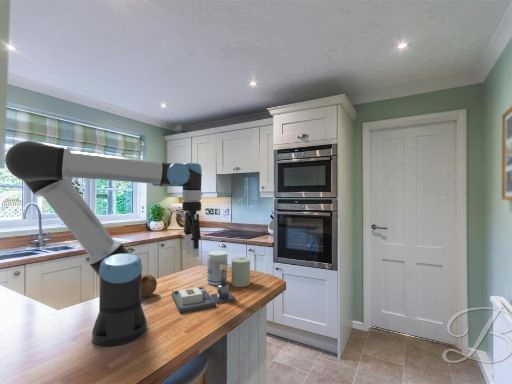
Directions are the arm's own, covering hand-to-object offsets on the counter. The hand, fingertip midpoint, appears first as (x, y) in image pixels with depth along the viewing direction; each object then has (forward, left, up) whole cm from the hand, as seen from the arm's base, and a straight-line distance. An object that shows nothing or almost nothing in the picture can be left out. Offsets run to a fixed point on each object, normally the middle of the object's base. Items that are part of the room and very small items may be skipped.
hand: (191, 253), depth 108 cm
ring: (0, -1, -18) cm, 19 cm away
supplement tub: (+17, +16, -20) cm, 30 cm away
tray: (+1, -1, -19) cm, 19 cm away
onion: (-16, +13, -20) cm, 29 cm away
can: (+27, +10, -20) cm, 35 cm away
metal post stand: (+13, -4, -19) cm, 23 cm away
